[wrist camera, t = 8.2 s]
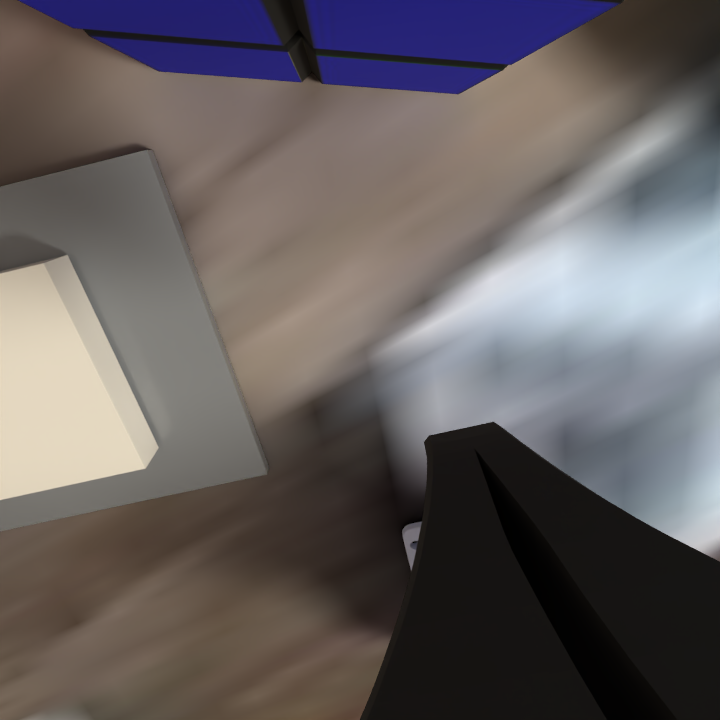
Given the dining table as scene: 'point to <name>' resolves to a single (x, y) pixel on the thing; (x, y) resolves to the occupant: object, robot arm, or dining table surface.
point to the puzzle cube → (330, 36)
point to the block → (61, 387)
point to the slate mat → (135, 329)
